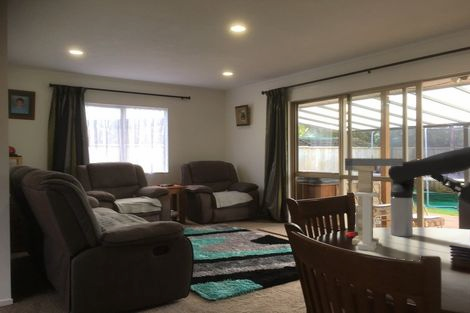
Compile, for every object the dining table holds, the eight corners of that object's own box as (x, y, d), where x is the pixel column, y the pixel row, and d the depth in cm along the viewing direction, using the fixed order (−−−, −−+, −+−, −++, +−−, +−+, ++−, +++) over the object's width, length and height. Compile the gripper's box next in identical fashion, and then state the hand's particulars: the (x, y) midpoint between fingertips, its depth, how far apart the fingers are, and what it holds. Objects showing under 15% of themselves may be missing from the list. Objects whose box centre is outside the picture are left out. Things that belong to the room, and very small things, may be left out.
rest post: (358, 245, 149) (358, 192, 149) (379, 248, 145) (379, 193, 145) (354, 248, 144) (354, 193, 144) (376, 251, 140) (376, 194, 140)
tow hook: (344, 234, 173) (347, 237, 164) (344, 206, 174) (347, 208, 165) (363, 234, 172) (367, 238, 163) (362, 206, 172) (366, 208, 163)
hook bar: (346, 170, 158) (346, 158, 158) (403, 171, 147) (403, 158, 147) (344, 170, 155) (344, 158, 155) (402, 171, 144) (402, 158, 144)
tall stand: (356, 240, 158) (356, 165, 158) (378, 242, 154) (378, 165, 154) (352, 244, 151) (352, 165, 151) (375, 247, 147) (375, 166, 147)
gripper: (481, 187, 139) (438, 165, 146) (484, 189, 126) (437, 165, 133) (469, 203, 141) (427, 181, 147) (471, 208, 128) (425, 183, 135)
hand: (432, 173), depth 140 cm, fingers open, 8 cm apart
